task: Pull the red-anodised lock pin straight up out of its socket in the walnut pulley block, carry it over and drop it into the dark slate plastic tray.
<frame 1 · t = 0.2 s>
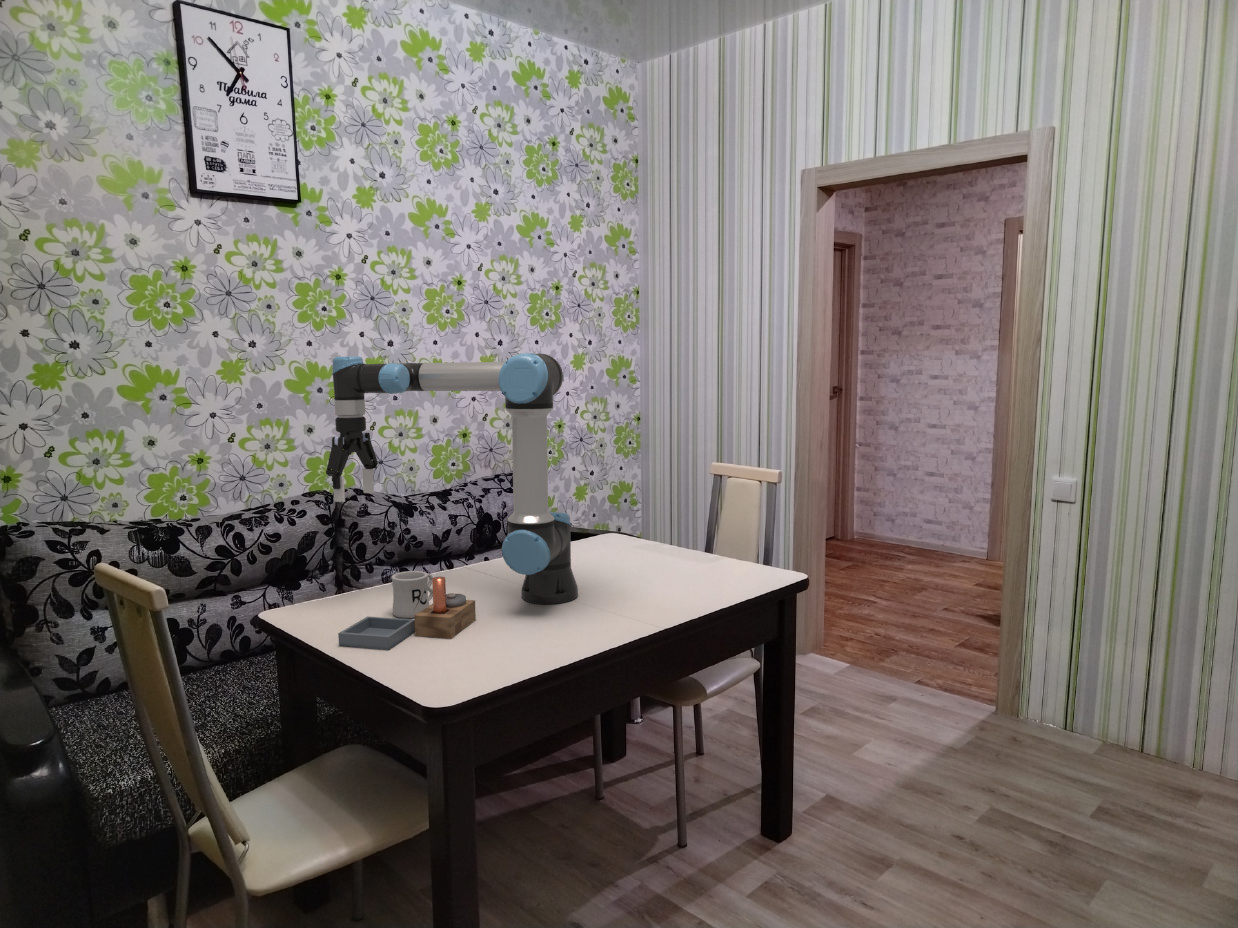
hand: (354, 497, 217), 28 cm above the table, fingers open, 13 cm apart
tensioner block: (446, 627, 197), on the table
tray: (378, 638, 190), on the table
mug: (416, 612, 210), on the table
lock pin: (440, 631, 194), resting in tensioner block
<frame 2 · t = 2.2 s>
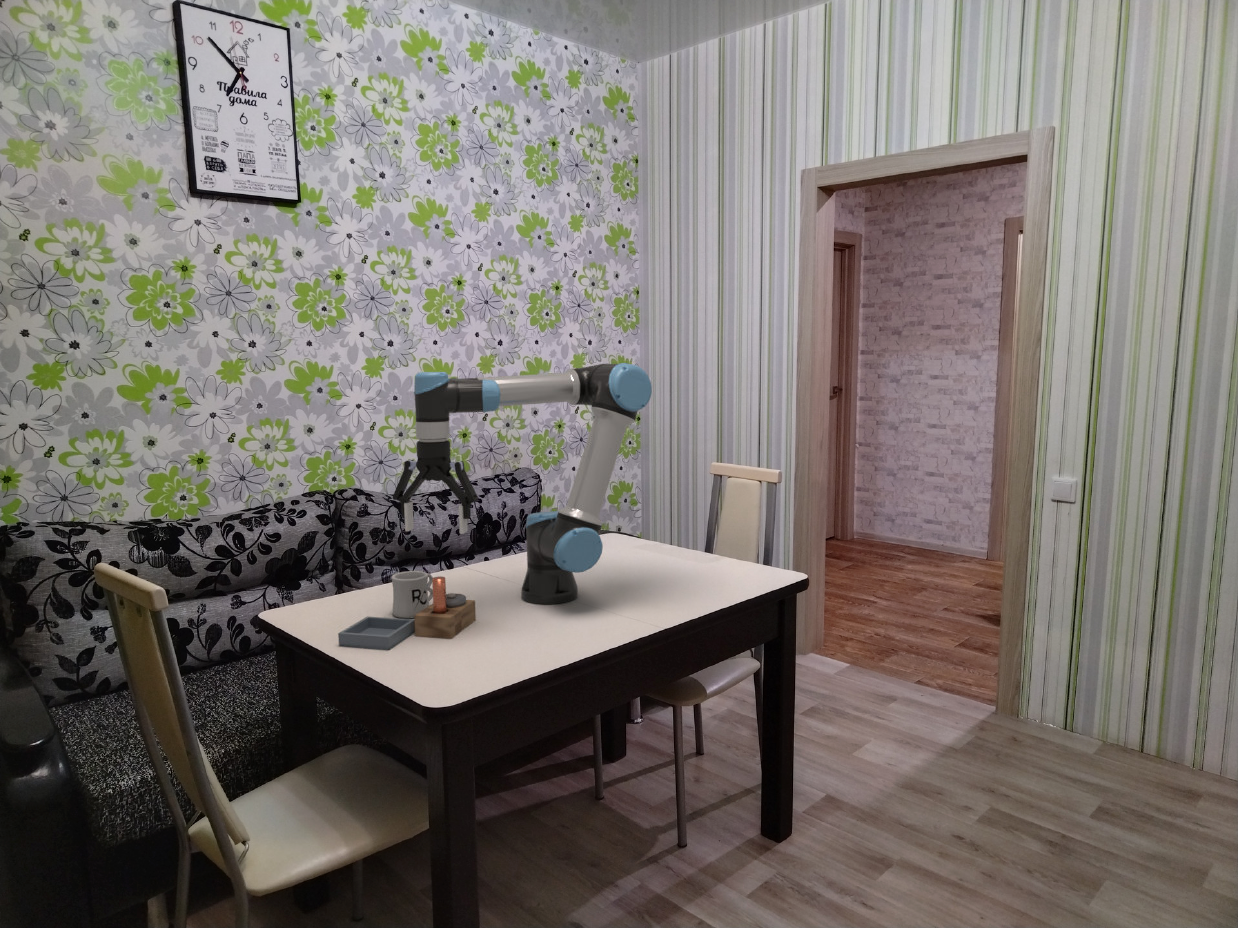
hand: (436, 531, 191), 24 cm above the table, fingers open, 13 cm apart
nothing on the table moved.
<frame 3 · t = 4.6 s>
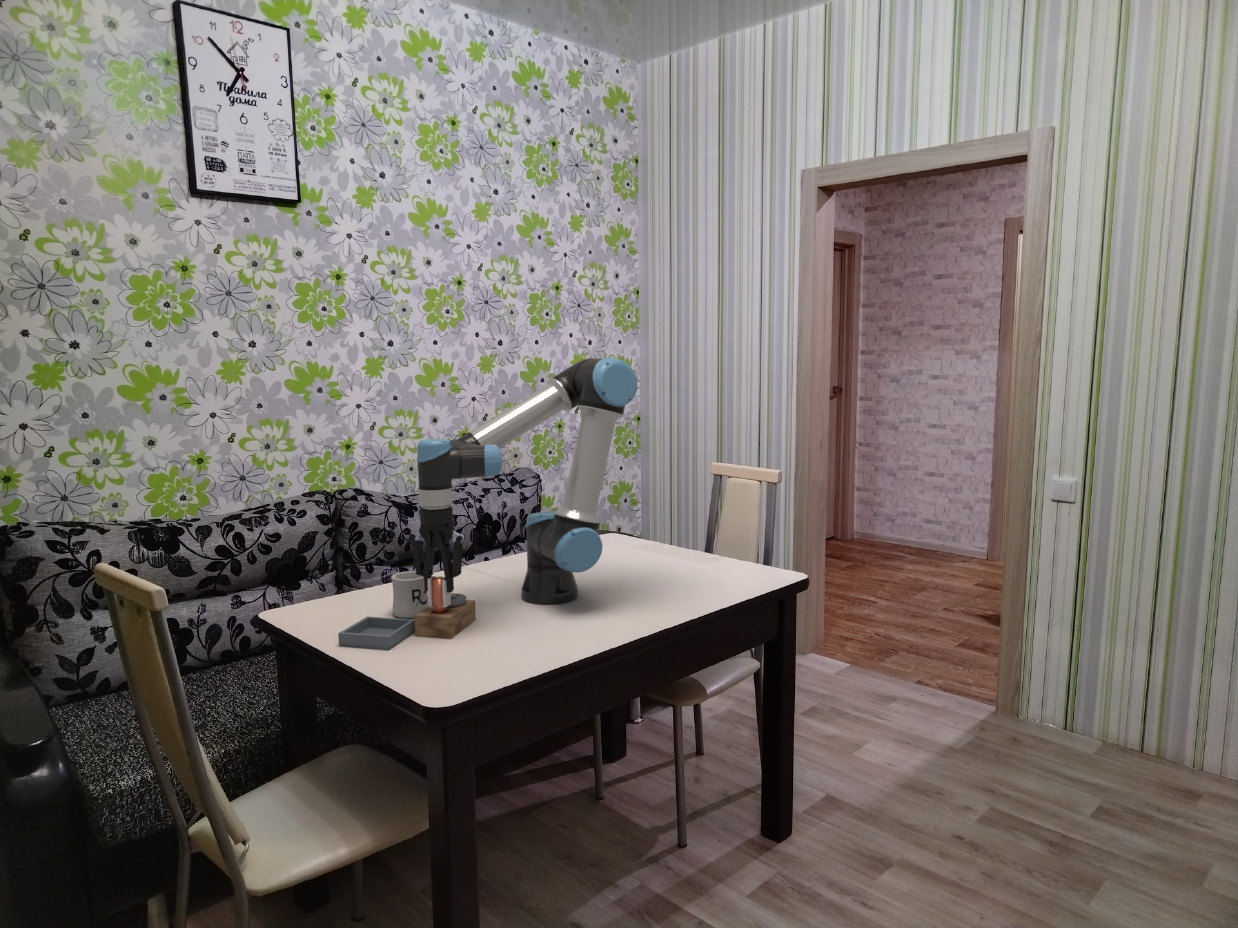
hand: (439, 604, 193), 7 cm above the table, fingers closed on lock pin, 3 cm apart
lock pin: (440, 631, 194), resting in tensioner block, touching gripper
everything else where it was.
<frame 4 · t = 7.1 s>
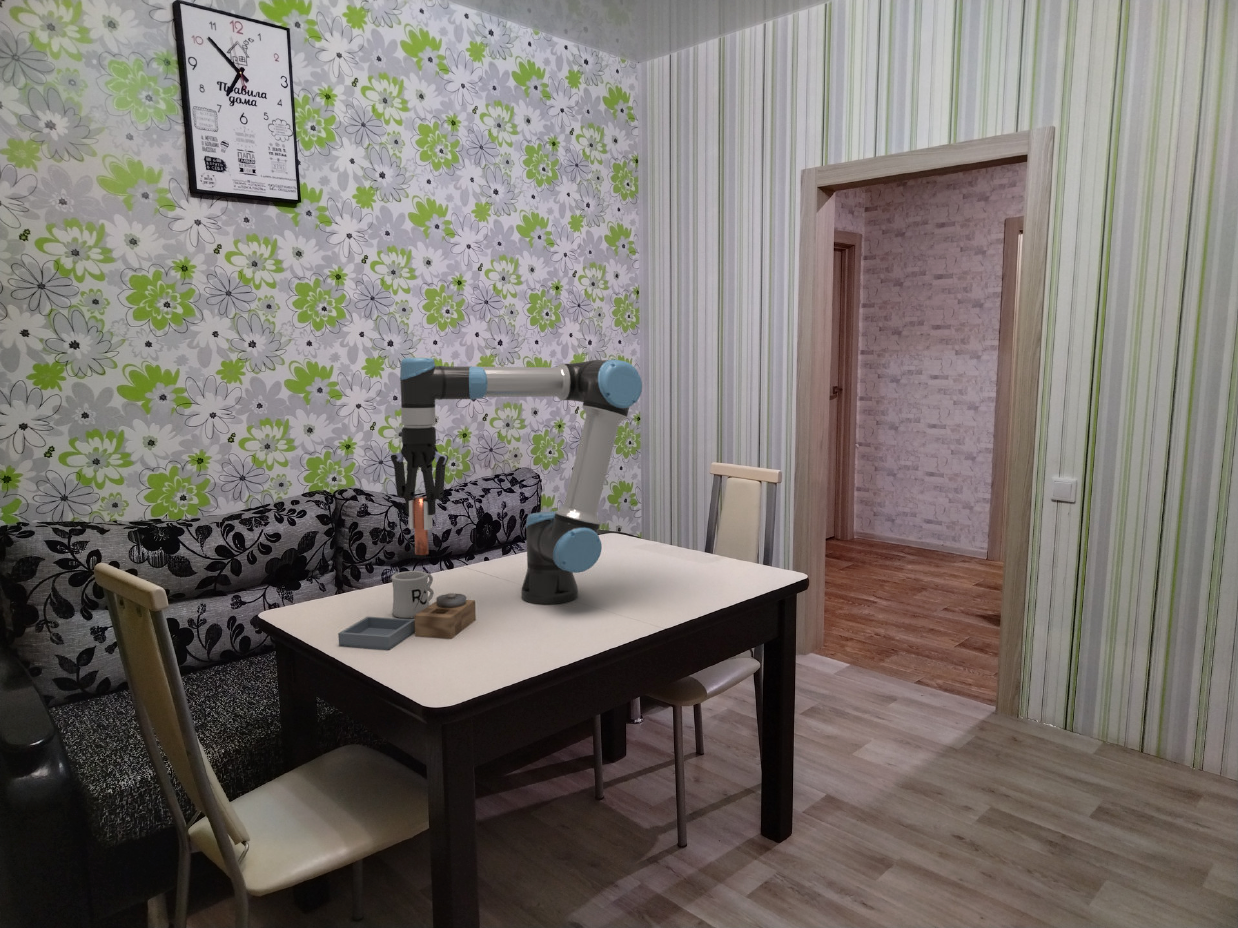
hand: (421, 528, 190), 25 cm above the table, fingers closed on lock pin, 3 cm apart
lock pin: (421, 553, 191), point 19 cm above the table, touching gripper
everything else where it was.
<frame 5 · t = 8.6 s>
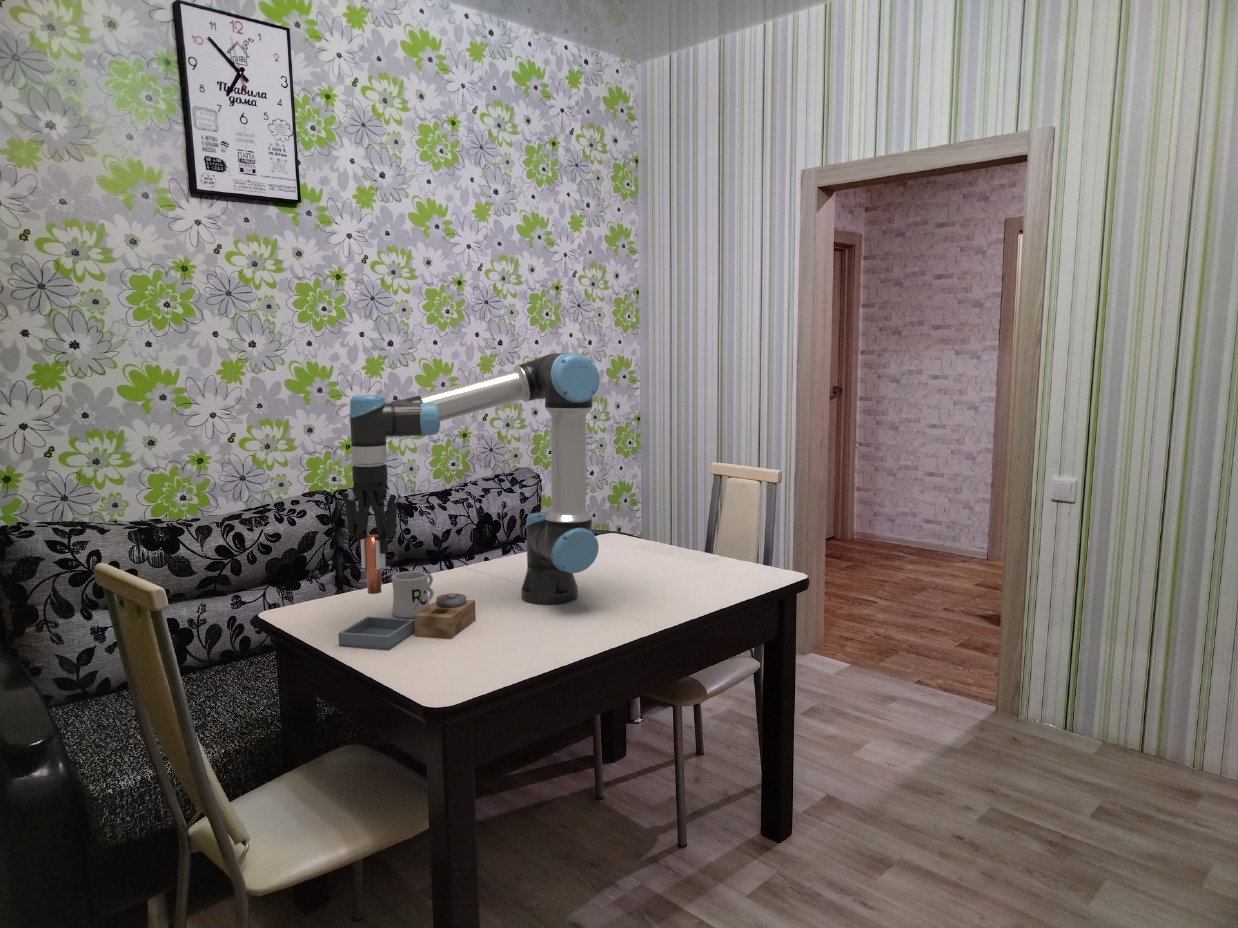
hand: (373, 566, 188), 17 cm above the table, fingers closed on lock pin, 3 cm apart
lock pin: (374, 592, 188), point 11 cm above the table, touching gripper
everything else where it was.
when the fingers open (9 cm above the table, at t = 9.7 s): lock pin drops 3 cm, resting on tray.
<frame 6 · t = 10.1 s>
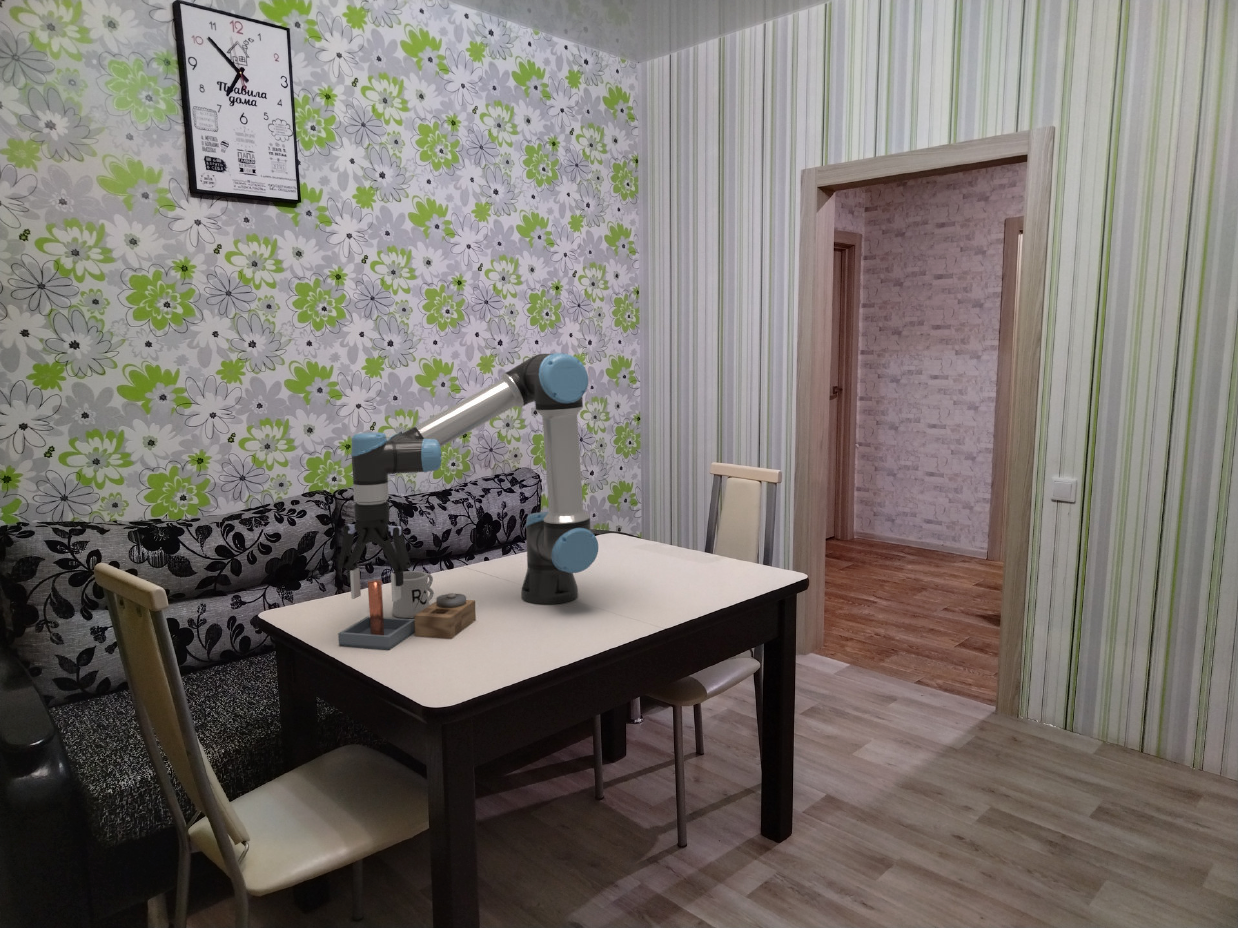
hand: (376, 598, 189), 10 cm above the table, fingers open, 9 cm apart
lock pin: (377, 636, 190), point 1 cm above the table, touching tray
everything else where it was.
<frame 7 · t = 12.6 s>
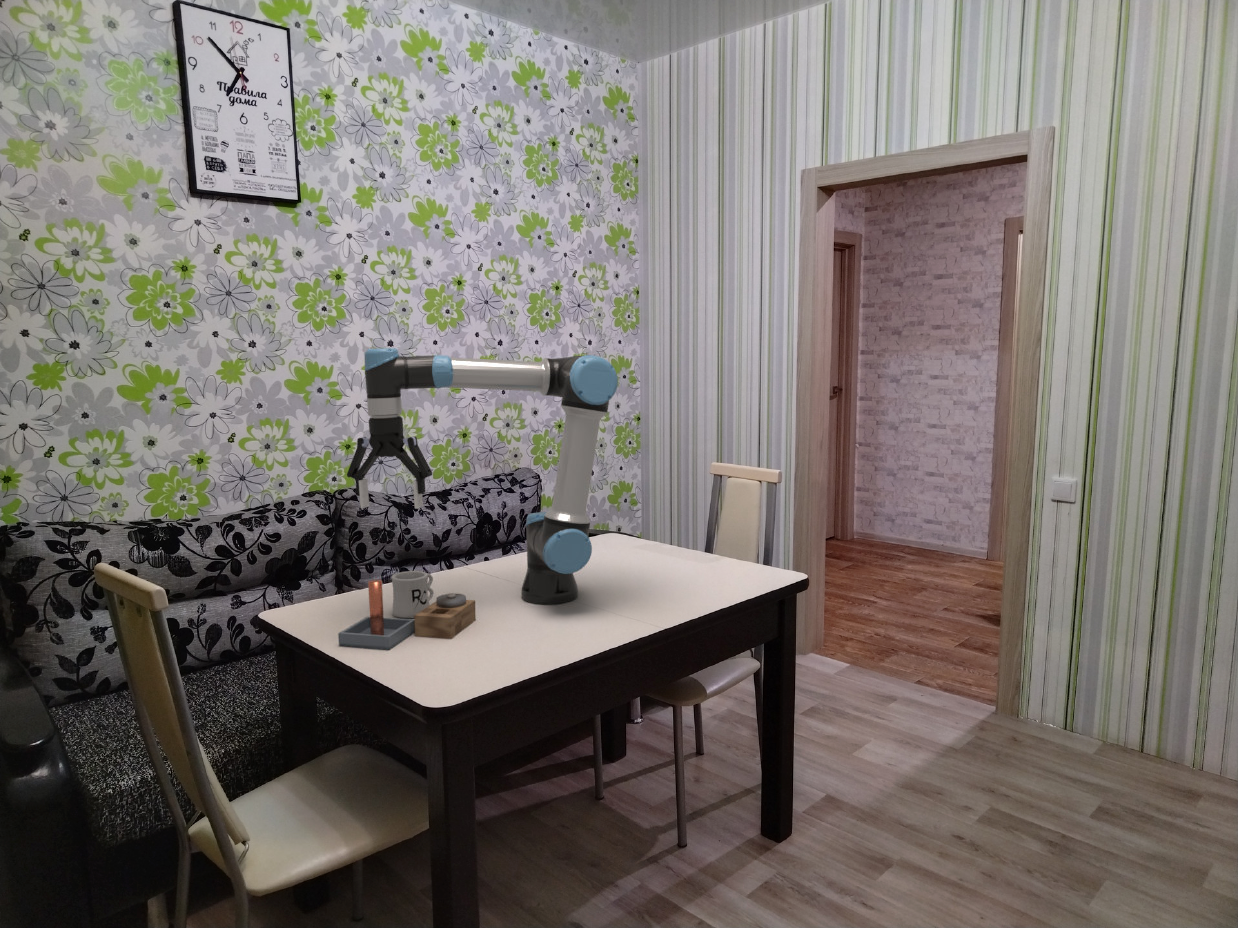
hand: (391, 507, 192), 29 cm above the table, fingers open, 13 cm apart
nothing on the table moved.
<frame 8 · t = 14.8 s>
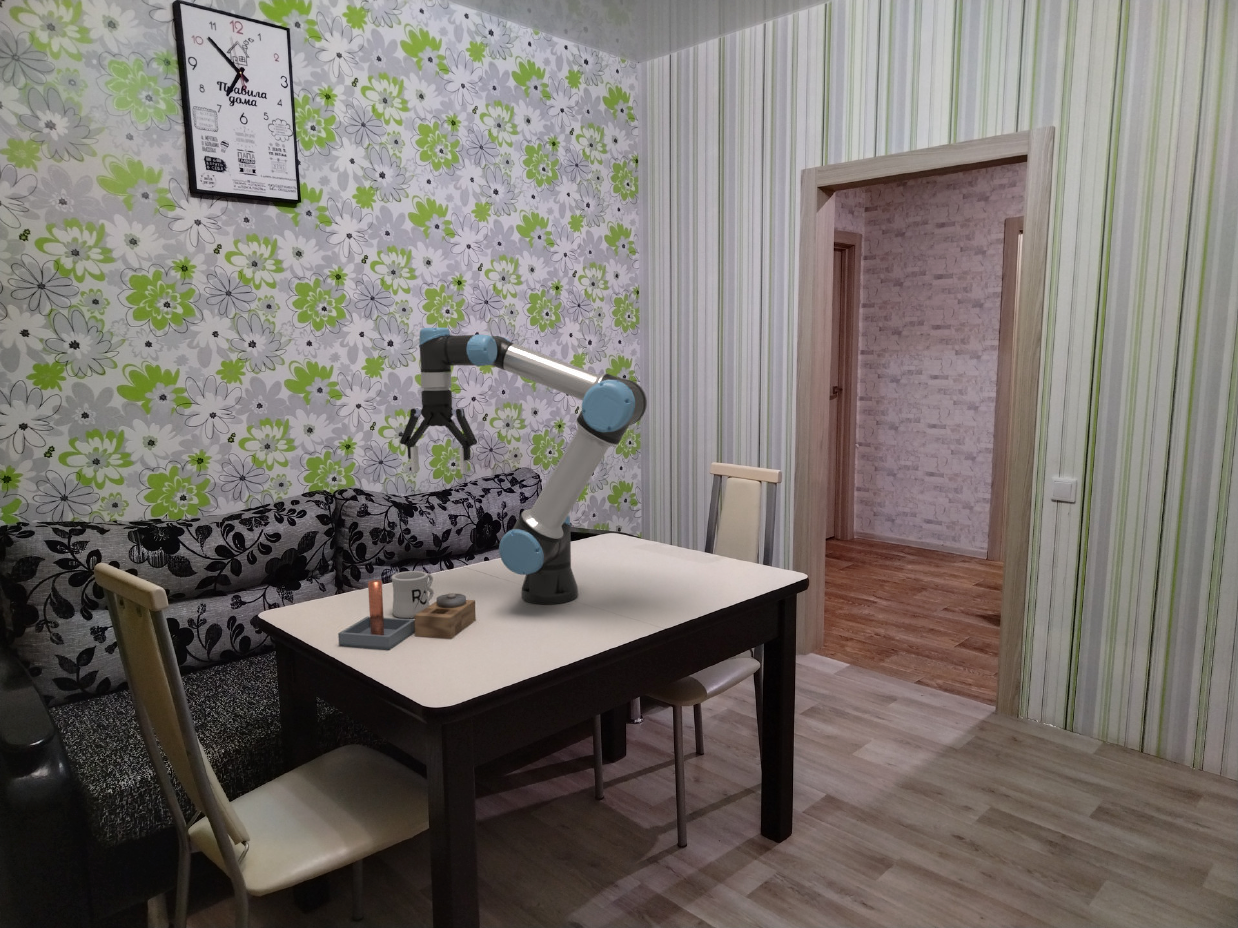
hand: (439, 472, 212), 35 cm above the table, fingers open, 13 cm apart
nothing on the table moved.
at the end: lock pin inside the target area on the tray (0.1 cm from its centre), point 0.6 cm above the tray's base; the gripper is holding nothing; lock pin 0.1 cm from the tray (horizontally) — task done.
